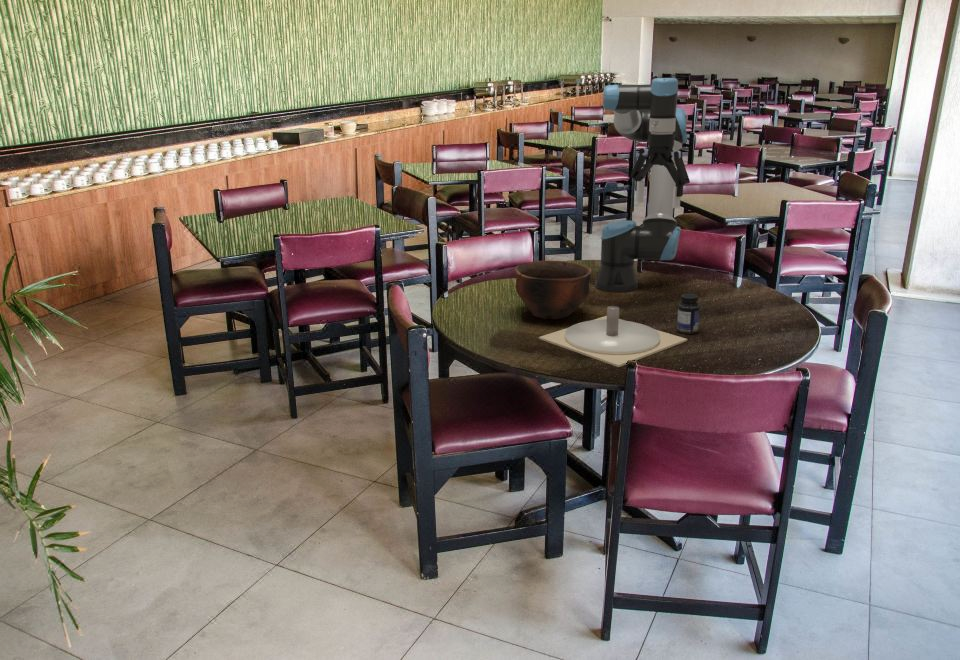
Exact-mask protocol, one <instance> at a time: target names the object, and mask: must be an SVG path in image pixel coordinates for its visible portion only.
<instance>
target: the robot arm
mask: <svg viewBox="0 0 960 660" xmlns="http://www.w3.org/2000/svg"><path fill="white" fill-rule="evenodd" d="M678 81H679V80H678V79H677V78H675V77H657V78H656V77H655V78H653V79H652V80H651V84H611V85H610V84H609V85H605V86H604V88H603V94H602V106H603V110H604V111H611V112H613V115H614V116H613V119H612V120H613V122H612V123H613V127H614V129H615V131H616V132H617V133H619V135H621V136H622V137H624V138H626V139H627V140H629V141H632V142H633V141H634V142H639V143H647V147H642V148H640V149H639V153H638V157H637V160H636V161H635V164H634V166H633V167H632V168H633V169H632V170H631V172H630V175H629V178H630V179H633V180H634V183H635V184H634V190H635V193H636V195H635V197H636V198H635V203H637V204H638V203H639V204H640V203H644V199H645V181H646V180H644V178H645V177H646V175H647V174H649V173H648V172H649V171H650V177H649V187H648V188H649V191H648V205H647V216H646V217H645V218H644V219H643V220H642V224H641V225H637V222H636V221H635V220H617V221H616V220H615V221H612V222H609V223H606V224H605V225H604V226H603V227H602V229H601V237H600V240H601V245H600V246H601V247H600V249H601V250H600V265H599V269H598V271H597V275H596V277H595V280H594V287H595V288H596V289H597V290H600V291H603V292H604V291H605V292H612V293H626V292H632V291H635V290H637V289H638V288H639V287H638V285H639V281H638V278H637V272H636V270H635V260H649V261H651V260H653V261H654V260H655V261H660V262H661V261H672V260H674V259H675V257H676V254H677V250H678V246H679V240H680V235H681V231H682V230H681V227H680V226H677V225H678V222H677V220H676V219H675V218H674V217H673V216H674V209H677V208H678V209H679V208H680V207H681V198H682V197H683V195H684V186H685V185H687V184H690V183H691V181H690V178H689V174H688V170H687V167H686V165H685V163H684V159H683V151H682V150H680V149H682V147H683V144H684V143H686V142H687V137H688V136H687V134H688V133H687V120H686V119H687V117H686V113H685V110H684V109H683V108H680V107H677V105H678V92H679V87H678V86H679V83H678ZM647 157H649V158H648V159H647Z"/></svg>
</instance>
